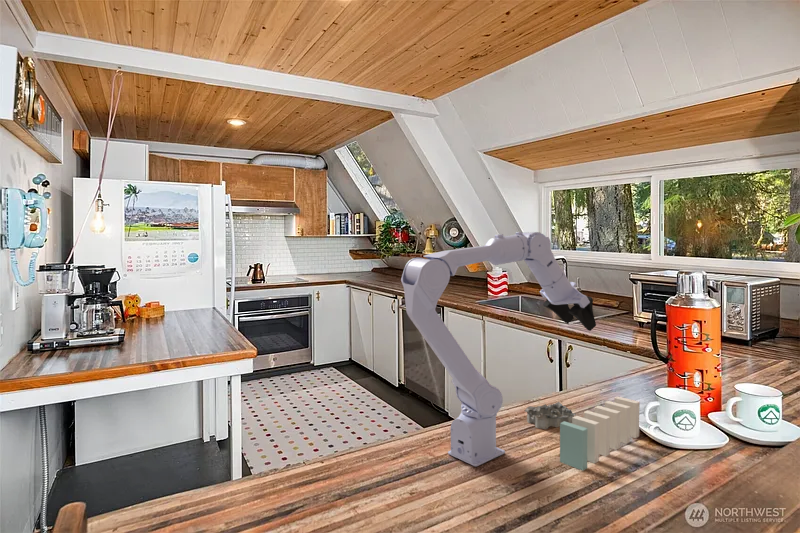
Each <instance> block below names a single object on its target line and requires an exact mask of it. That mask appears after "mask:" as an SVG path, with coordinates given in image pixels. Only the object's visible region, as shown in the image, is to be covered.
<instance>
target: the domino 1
mask: <svg viewBox="0 0 800 533" xmlns="http://www.w3.org/2000/svg"><path fill="white" fill-rule="evenodd" d="M559 462H560V463H563V464H564V465H567V466H570V467H572V468H575V469H576V470H577V469H578V470H580V471H582V472H584V471H585V470H587V469H588V461H587V428H584V427H581V426H578V425H575V424H572V423H568V422H565V421H564V422H562V423H560V427H559Z"/></svg>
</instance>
